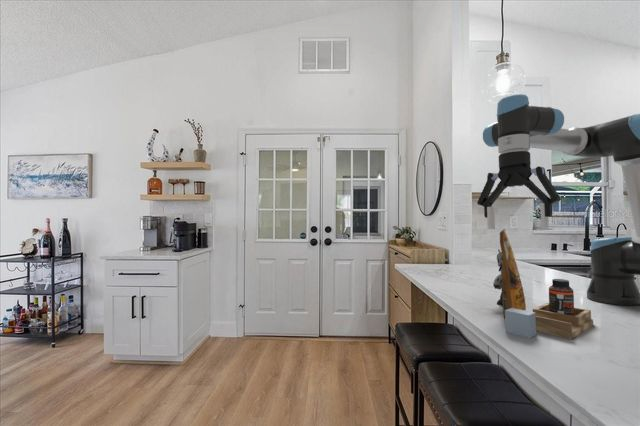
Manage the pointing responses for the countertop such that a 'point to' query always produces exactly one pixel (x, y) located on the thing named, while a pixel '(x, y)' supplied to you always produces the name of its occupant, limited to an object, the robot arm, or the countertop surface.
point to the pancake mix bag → (510, 278)
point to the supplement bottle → (561, 297)
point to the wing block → (520, 322)
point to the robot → (499, 277)
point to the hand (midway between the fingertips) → (516, 229)
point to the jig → (562, 322)
